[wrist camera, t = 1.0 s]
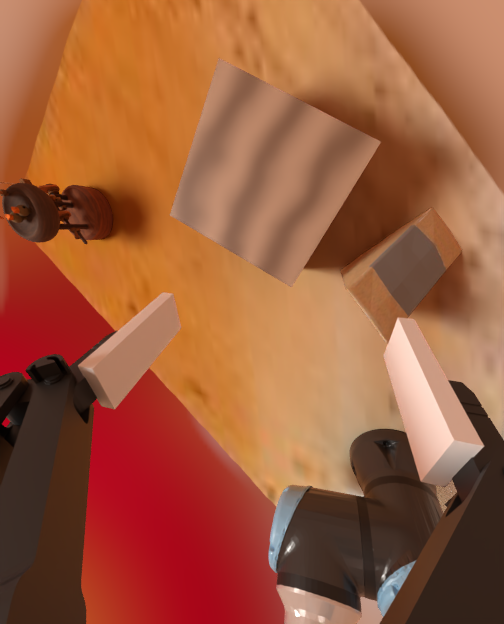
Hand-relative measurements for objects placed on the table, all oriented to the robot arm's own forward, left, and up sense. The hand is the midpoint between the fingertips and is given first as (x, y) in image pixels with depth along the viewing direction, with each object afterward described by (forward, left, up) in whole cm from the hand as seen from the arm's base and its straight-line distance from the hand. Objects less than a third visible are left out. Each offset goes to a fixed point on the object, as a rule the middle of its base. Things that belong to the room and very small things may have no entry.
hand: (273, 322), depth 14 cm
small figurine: (+44, +15, -31) cm, 56 cm away
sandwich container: (-12, -7, -31) cm, 34 cm away
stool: (+10, -6, -30) cm, 33 cm away
